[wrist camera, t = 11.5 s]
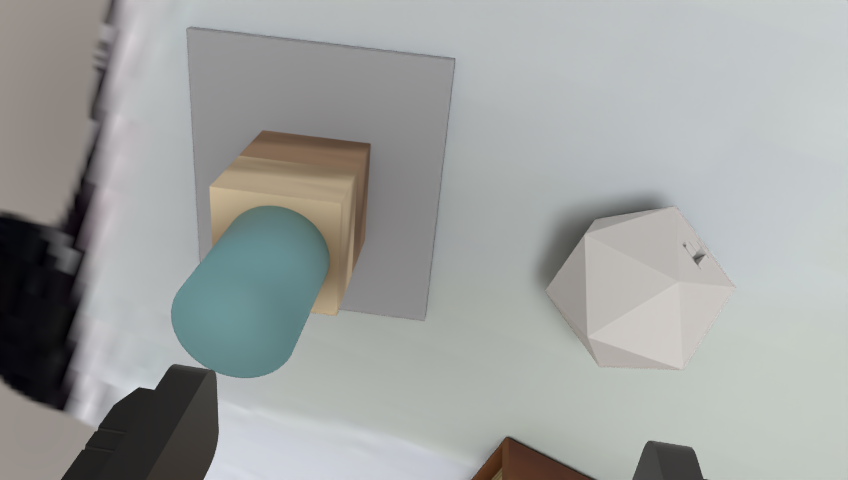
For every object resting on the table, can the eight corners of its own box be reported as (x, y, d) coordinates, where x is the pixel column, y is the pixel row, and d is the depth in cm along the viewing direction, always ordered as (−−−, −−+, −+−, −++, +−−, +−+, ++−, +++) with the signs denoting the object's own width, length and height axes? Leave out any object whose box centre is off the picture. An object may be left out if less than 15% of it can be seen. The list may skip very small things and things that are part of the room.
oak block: (238, 155, 35) (209, 186, 32) (357, 170, 35) (341, 203, 32) (241, 260, 38) (215, 299, 35) (351, 274, 38) (336, 315, 34)
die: (698, 309, 43) (799, 300, 33) (587, 396, 41) (661, 411, 32) (617, 199, 43) (694, 158, 34) (505, 280, 42) (553, 262, 32)
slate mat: (190, 26, 37) (186, 28, 37) (455, 58, 37) (454, 60, 36) (204, 286, 45) (201, 290, 44) (425, 316, 44) (424, 321, 44)
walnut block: (262, 130, 39) (238, 155, 35) (370, 143, 39) (357, 170, 35) (263, 227, 42) (241, 260, 38) (364, 240, 41) (351, 274, 38)
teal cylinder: (222, 198, 32) (166, 262, 27) (331, 213, 32) (297, 280, 27) (226, 292, 34) (175, 368, 29) (327, 306, 34) (295, 385, 29)
